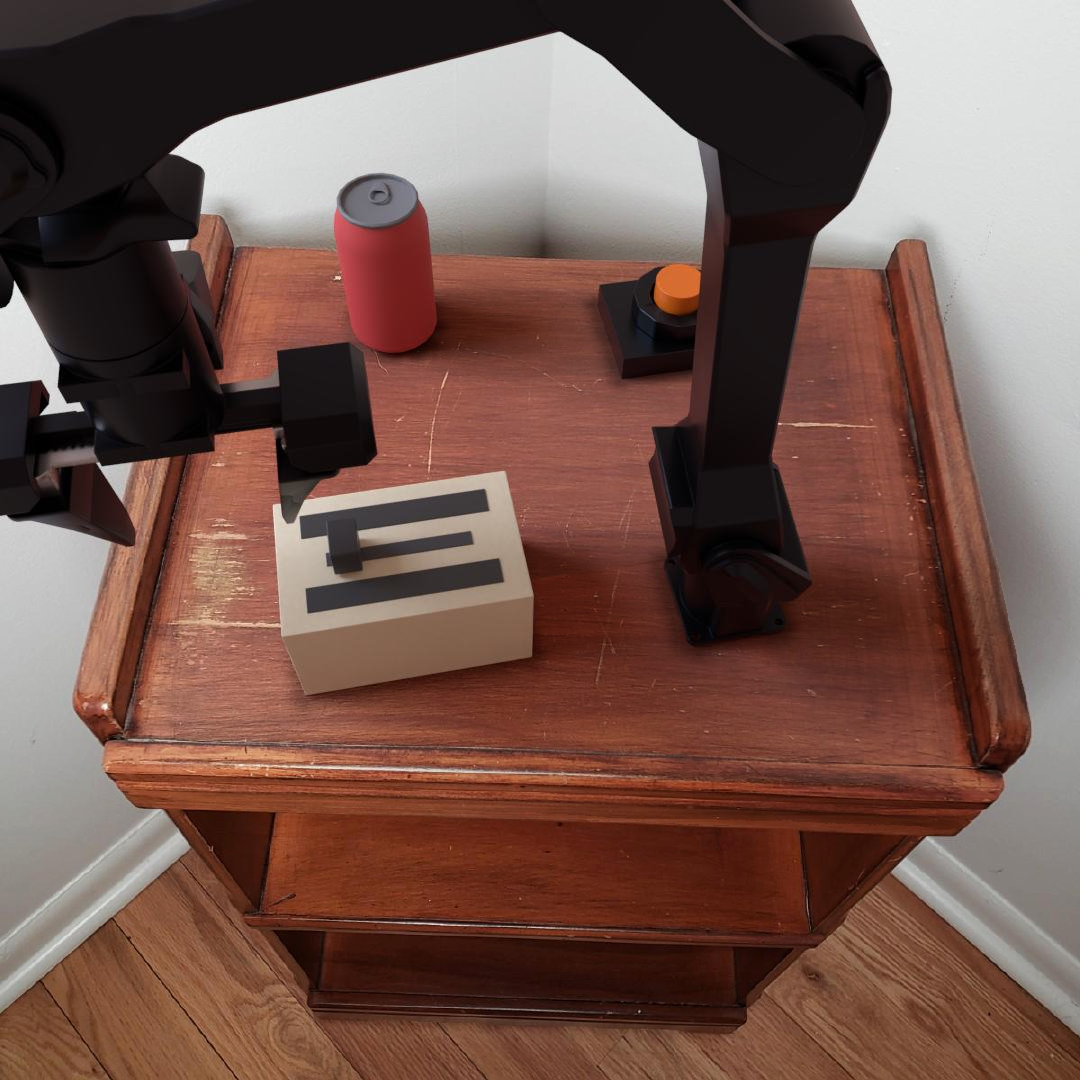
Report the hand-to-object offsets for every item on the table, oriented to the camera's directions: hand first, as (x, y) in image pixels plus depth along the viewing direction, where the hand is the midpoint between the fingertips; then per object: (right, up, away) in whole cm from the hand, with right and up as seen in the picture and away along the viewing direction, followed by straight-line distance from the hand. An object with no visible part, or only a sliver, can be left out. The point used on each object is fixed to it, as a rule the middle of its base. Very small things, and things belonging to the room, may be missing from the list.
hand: (211, 527), depth 54 cm
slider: (+6, -1, +4) cm, 8 cm away
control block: (+28, +15, +25) cm, 40 cm away
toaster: (+9, -5, +11) cm, 15 cm away
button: (+28, +17, +22) cm, 40 cm away
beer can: (+6, +16, +25) cm, 30 cm away
